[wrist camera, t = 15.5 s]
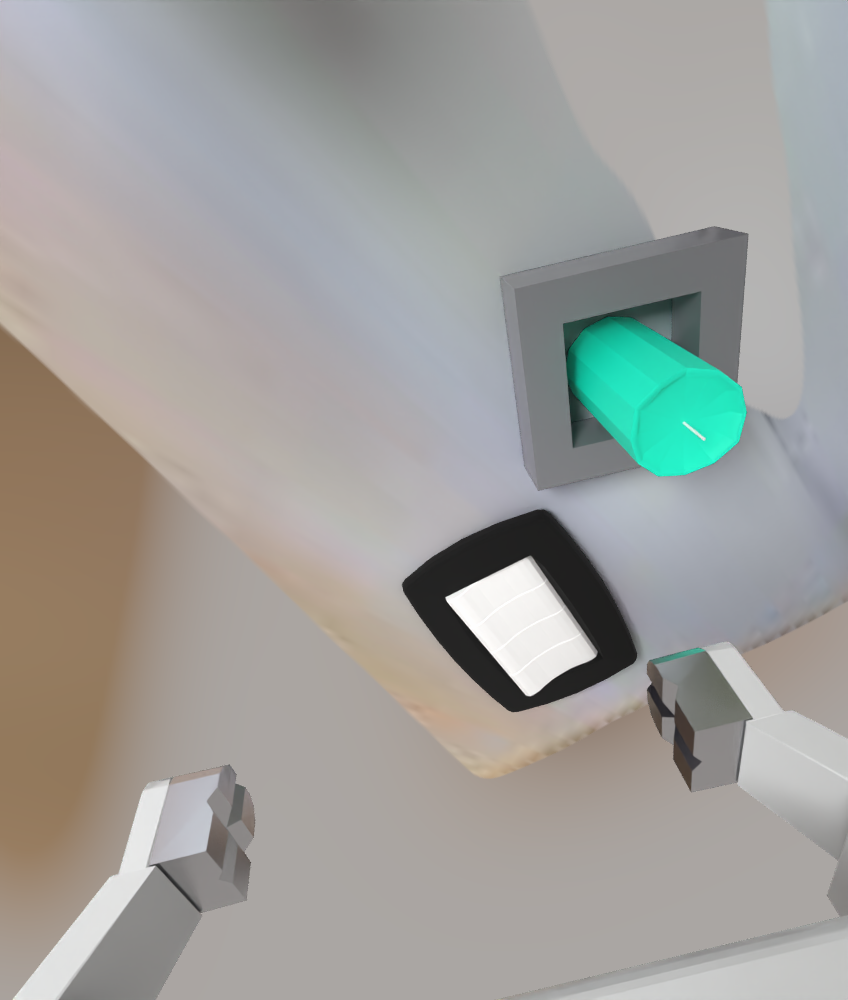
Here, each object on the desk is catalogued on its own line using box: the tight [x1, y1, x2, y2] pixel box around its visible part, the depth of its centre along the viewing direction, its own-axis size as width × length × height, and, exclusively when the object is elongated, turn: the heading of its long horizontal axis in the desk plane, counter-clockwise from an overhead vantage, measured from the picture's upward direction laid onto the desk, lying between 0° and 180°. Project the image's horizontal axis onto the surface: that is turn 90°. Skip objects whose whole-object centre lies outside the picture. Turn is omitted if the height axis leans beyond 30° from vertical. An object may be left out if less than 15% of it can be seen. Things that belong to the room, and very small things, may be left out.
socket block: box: [500, 227, 748, 491], centre depth 38 cm, size 13×13×4 cm
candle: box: [566, 317, 747, 476], centre depth 34 cm, size 6×6×12 cm
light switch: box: [402, 509, 637, 712], centre depth 49 cm, size 20×3×14 cm
